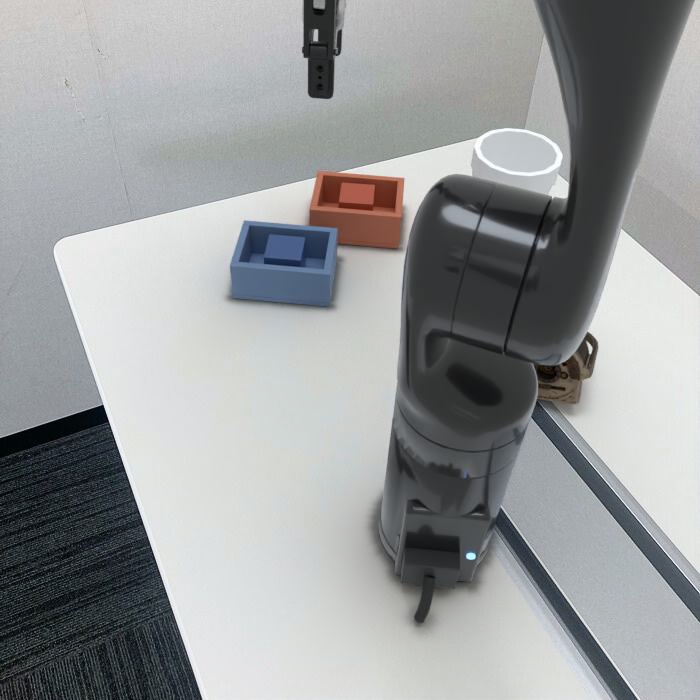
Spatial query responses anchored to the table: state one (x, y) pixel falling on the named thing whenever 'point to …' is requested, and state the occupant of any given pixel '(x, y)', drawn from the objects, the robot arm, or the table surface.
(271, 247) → the slate block
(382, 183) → the terracotta bin
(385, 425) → the table surface
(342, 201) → the terracotta block
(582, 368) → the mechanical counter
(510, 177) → the foam cup
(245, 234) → the blue bin
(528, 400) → the robot arm
